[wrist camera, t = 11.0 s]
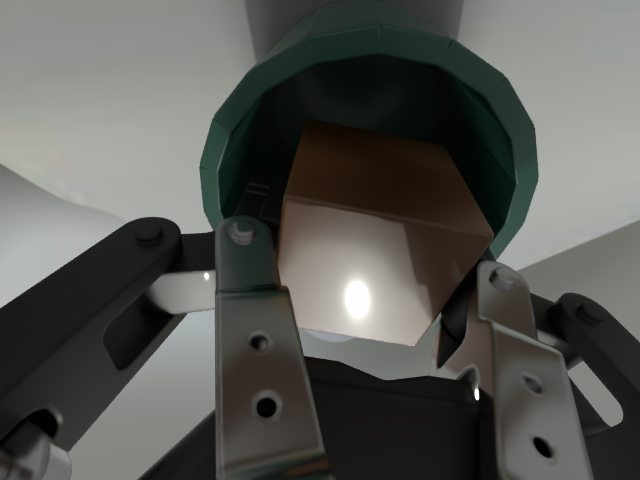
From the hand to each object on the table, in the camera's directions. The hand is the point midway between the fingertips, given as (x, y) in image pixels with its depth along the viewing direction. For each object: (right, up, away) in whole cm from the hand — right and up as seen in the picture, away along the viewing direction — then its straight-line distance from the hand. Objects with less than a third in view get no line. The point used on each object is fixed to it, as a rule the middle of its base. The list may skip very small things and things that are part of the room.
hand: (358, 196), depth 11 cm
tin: (+1, +6, +7) cm, 9 cm away
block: (0, 0, 0) cm, 0 cm away
